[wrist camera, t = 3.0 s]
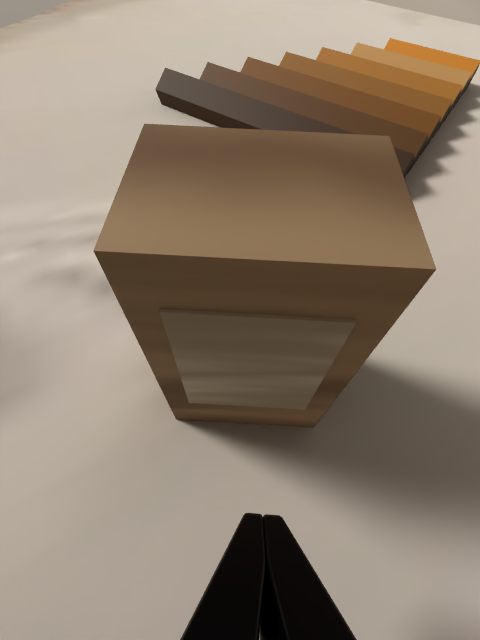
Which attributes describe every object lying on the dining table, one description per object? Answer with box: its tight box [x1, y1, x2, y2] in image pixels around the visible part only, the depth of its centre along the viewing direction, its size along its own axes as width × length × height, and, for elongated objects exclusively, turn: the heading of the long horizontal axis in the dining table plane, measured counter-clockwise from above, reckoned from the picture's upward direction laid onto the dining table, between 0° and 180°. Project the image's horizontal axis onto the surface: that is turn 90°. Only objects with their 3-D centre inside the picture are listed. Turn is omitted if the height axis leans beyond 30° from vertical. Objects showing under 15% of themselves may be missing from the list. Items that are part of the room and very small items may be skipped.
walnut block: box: [94, 124, 436, 427], centre depth 13 cm, size 5×7×12 cm
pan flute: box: [156, 38, 480, 178], centre depth 35 cm, size 25×3×25 cm
